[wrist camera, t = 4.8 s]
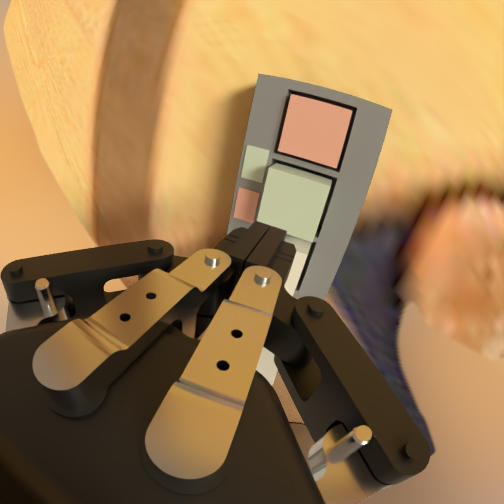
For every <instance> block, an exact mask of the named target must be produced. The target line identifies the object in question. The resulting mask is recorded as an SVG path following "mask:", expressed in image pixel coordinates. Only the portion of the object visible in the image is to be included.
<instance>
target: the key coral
mask: <svg viewBox="0 0 504 504" xmlns="http://www.w3.org/2000/svg"><path fill="white" fill-rule="evenodd" d="M351 115H352V110H349V109H345V108H342V107H339V106H336V105H332V104H329V103H325V102H321V101H318V100H314V99H310V98H306V97H302V96H298V95H294V94H291V96H290V101H289V105H288V109H287V114H286V118H285V122H284V126H283V131H282V135H281V139H280V144H279V148H278V151H280V152H284V153H287V154H291V155H294V156H298V157H301V158H304V159H308V160H311V161H314V162H318V163H321V164H324V165H327V166H330V167H333V168H336V169H337V165H338V162H339V158H340V155H341V151H342V148H343V144H344V141H345V137H346V134H347V130H348V126H349V122H350V119H351Z"/></svg>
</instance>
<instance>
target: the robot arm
mask: <svg viewBox="0 0 504 504" xmlns="http://www.w3.org/2000/svg"><path fill="white" fill-rule="evenodd" d="M286 234H287V231H286V230H283V229H280V228H277V227H274V226H271V225H268V224H265V223H262V222H259V221H255V222H254V223H253V224H252V225H251V226H250V227H249V228H248V229H247V228H244V227H239V228H236V229H233V230H232V231H231V232H230V233H229V234H228V235H227V236H226V237H225V238H224V239H223V240H222V241H221V242H220V243H219V244H218V245H217V246H216V247H215V248H214V249H202V250H199V251H197V252H196V253H195V254H193V255H192V256H191V257H189V258H186V257H180V256H174V255H173V254H174V248H173V246H172V245H171V244H170V243H168V242H166V241H163V240H145V241H138V242H130V243H123V244H116V245H109V246H102V247H95V248H89V249H82V250H75V251H69V252H63V253H56V254H50V255H44V256H38V257H32V258H26V259H20V260H15V261H13V262H11V263H9V264H8V265H6V266H5V267H4V268H3V270H2V272H1V279H2V282H3V285H4V288H5V291H6V293H7V298H8V301H9V306H8V314H7V324H6V332H4V333H2V334H0V504H358V503H360V502H361V501H363V500H365V499H366V498H368V497H369V496H371V495H373V494H374V493H377V492H379V491H382V490H384V489H386V488H389V487H391V486H393V485H395V484H397V483H400V482H402V481H404V480H406V479H408V478H410V477H412V476H414V475H416V474H418V473H420V472H421V471H423V470H424V469H425V468H426V466H427V464H428V462H429V459H430V448H429V444H428V442H427V440H426V439H425V437H424V436H423V434H422V433H421V431H420V430H419V428H418V427H417V425H416V424H415V422H414V421H413V419H412V418H411V416H410V415H409V413H408V412H407V411H406V409H405V408H404V406H403V405H402V403H401V402H400V400H399V399H398V398H397V396H396V395H395V393H394V392H393V390H392V389H391V388H390V386H389V385H388V383H387V382H386V380H385V379H384V378H383V376H382V375H381V373H380V372H379V371H378V369H377V368H376V366H375V365H374V364H373V362H372V361H371V359H370V358H369V357H368V355H367V354H366V352H365V351H364V350H363V348H362V347H361V346H360V344H359V343H358V341H357V340H356V339H355V337H354V336H353V335H352V333H351V332H350V331H349V329H348V328H347V327H346V325H345V324H344V323H343V321H342V320H341V318H340V317H339V316H338V314H337V313H336V312H335V310H334V309H333V308H332V307H331V305H330V304H328V303H327V302H326V301H324V300H322V299H320V298H317V297H313V296H305V297H301V298H299V299H298V300H297V299H296V298H294V297H293V296H291V295H290V294H289V293H288V292H287V291H286V289H285V287H284V286H285V283H286V281H287V279H288V276H289V273H290V270H291V267H292V264H293V261H294V258H295V254H296V248H295V245H294V244H291V243H289V242H286V241H285V238H286ZM135 275H138V278H139V281H137V282H136V283H135V284H133V285H132V286H130V287H129V288H128V289H126V290H121V291H115V292H105V291H104V288H103V287H104V284H105V283H106V282H107V281H109V280H111V279H117V278H123V277H129V276H135ZM263 347H264V348H266V349H267V350H269V351H270V352H272V353H273V354H274V363H275V365H276V367H277V369H278V371H279V373H280V375H281V377H282V379H283V381H284V383H285V385H286V387H287V390H288V392H289V394H290V396H291V398H292V400H293V402H294V404H295V406H296V408H297V410H298V412H299V414H300V415H301V417H302V419H303V421H304V423H305V425H303V424H296V423H289V421H288V419H287V416H286V414H285V412H284V409H283V407H282V405H281V402H280V400H279V398H278V396H277V393H276V392H275V390H274V388H273V387H272V385H271V384H270V383H269V382H268V380H267V379H266V378H265V377H264V376H263V375H262V374H261V373H259V372H258V371H257V370H256V367H257V364H258V361H259V358H260V355H261V352H262V349H263Z"/></svg>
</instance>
